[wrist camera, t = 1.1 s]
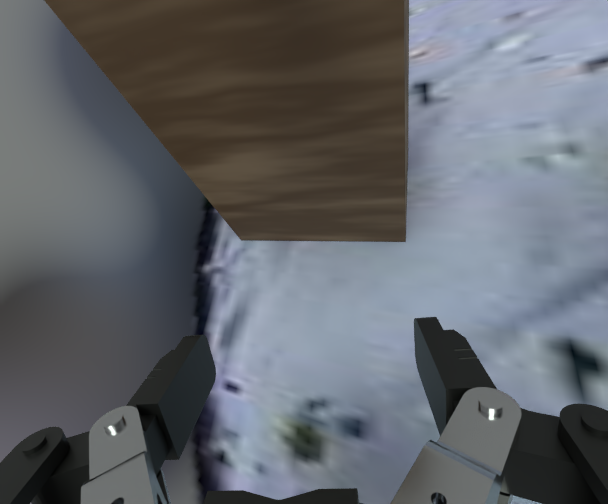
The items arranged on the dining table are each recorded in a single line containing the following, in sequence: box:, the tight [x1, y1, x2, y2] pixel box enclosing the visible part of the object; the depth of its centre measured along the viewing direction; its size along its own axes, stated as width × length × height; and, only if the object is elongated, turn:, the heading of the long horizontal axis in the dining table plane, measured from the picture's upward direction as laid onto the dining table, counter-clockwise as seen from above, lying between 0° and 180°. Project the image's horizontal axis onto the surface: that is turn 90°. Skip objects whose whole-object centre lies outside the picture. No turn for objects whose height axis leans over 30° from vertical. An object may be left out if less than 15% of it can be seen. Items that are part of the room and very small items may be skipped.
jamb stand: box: [45, 0, 409, 242], centre depth 30 cm, size 14×20×32 cm
